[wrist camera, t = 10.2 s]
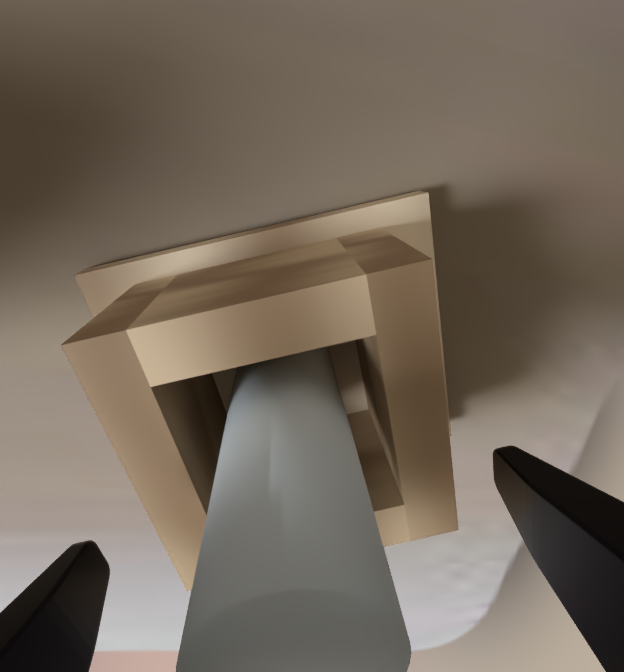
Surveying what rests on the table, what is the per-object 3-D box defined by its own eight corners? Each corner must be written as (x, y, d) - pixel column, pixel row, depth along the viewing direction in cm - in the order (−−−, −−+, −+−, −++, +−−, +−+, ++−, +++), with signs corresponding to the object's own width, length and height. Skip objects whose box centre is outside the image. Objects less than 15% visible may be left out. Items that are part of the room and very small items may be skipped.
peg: (252, 413, 16) (217, 750, 7) (226, 334, 15) (138, 622, 5) (338, 394, 16) (421, 705, 7) (320, 312, 15) (395, 565, 5)
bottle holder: (182, 481, 18) (140, 618, 13) (86, 268, 14) (-34, 332, 9) (442, 422, 18) (515, 534, 13) (418, 190, 14) (509, 206, 9)
